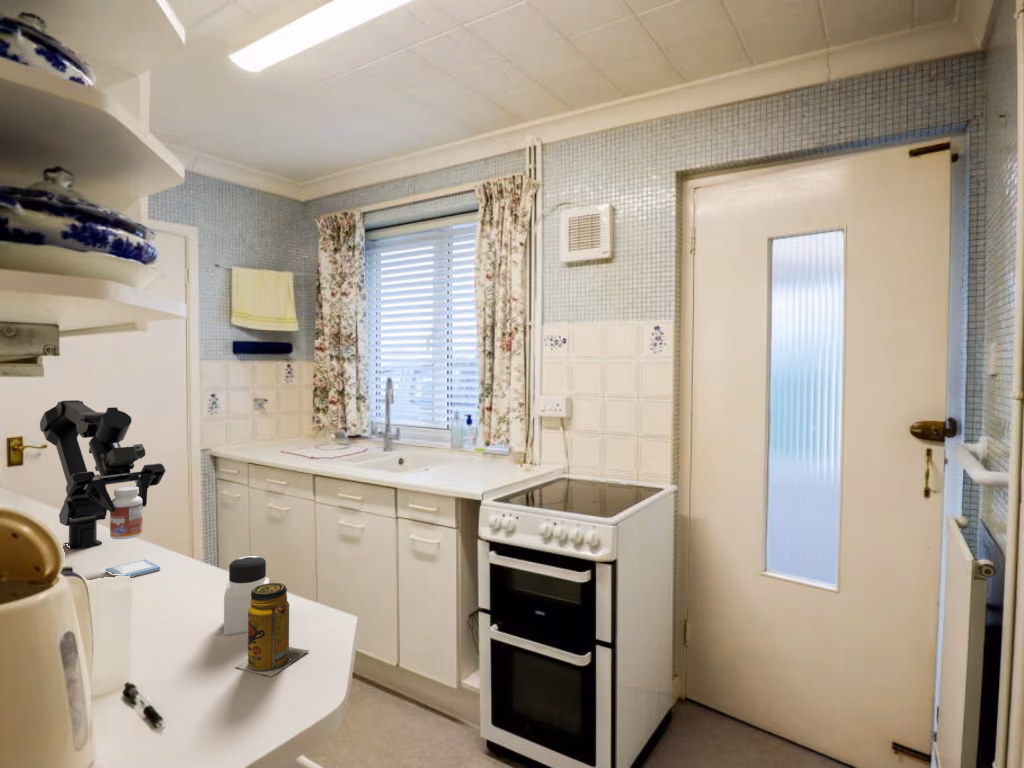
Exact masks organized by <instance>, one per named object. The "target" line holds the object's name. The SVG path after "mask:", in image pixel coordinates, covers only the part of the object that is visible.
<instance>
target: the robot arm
mask: <svg viewBox="0 0 1024 768" xmlns="http://www.w3.org/2000/svg"><path fill="white" fill-rule="evenodd" d="M132 422H133V421H132V417H131V416H130V415H129V414H128V413H126V412H125V411H123V410H122V411H121V410H119V409H118V407H117V406H115V407H113V406H112V407H107V408H106V411H105V412H102V411H101V412H100V411H99V412H97V411H95V410H94V409H92V408H90V407H89V406H87V405H85V404H84V402H83V401H82V400H79V399H77V400H73V399H72V400H61V401H58V402H57V404H56V406H54V407H51V408H50V409H48V410H45V412H44V413H43V414H42V417H41V419H40V421H39V430H40V431H41V432H42V433H43V435H44V438H45V440H46V441H47V442H49V443H51V444H52V445H53V446H55V447H56V451H57V454H58V459H59V460H60V463H61V464H60V465H61V467H62V471H63V474H64V478H65V481H66V486H65V491H66V497H65V499H64V501H63V505H62V507H61V510H60V512H59V514H58V518H59V523H60V524H61V525H64V526H65V527H68V542H64V543H63V546H64V544H65V546H64V547H66V546H67V545H66V544H68V546H70V548H71V549H75V550H79V549H84V548H88V547H93V546H94V547H95V546H99V545H102V544H103V542H102V541H101V540H99V539H98V538H97V535H98V534H97V533H98V532H97V531H98V530H97V529H98V528H97V527H98V525H97V524H98V523H97V522H98V521H101V520H102V521H103V520H106V518H107V515H108V514H107V513H108V511H109V513H110V512H114V506H113V503H112V500H113V499H112V498H111V497H110V494H109V492H108V490H107V486H109V485H110V486H111V485H116V484H125V483H131V482H134V483H135V487H139V494H137V495H138V496H139V497H141V498H142V500H143V508H145V507H146V506H147V501H148V489H149V488H150V487H152V486H157V485H158V484H160V482H161V481H162V478H163V477H164V475H165V473H166V471H167V470H166V468H165V466H164V465H163V464H162V463H151V464H144V465H143V467H142V469H141V471H134V472H132V471H131V470H134V468H135V463H134V462H136V461H138V460H142V459H143V458H145V457H146V449H145V447H144V445H143V443H137V444H133V445H132V446H122V447H121V444H120V442H122V441H124V439H125V437H126V435H127V433H128V431H129V428H130V425H132ZM78 436H80V437H81V438H83V439H87V438H89V439H90V440H89V442H88V446H89V448H88V454H91V455H92V457H93V459H94V462H95V463H94V464H95V467H94V470H95V471H92V470H91V471H88V468H87V466H86V463H85V460H84V456H83V453H82V450H81V447H80V443H79V441H78ZM95 472H98V473H99V474H95ZM78 548H79V549H78ZM71 549H70V550H71Z"/></svg>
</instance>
